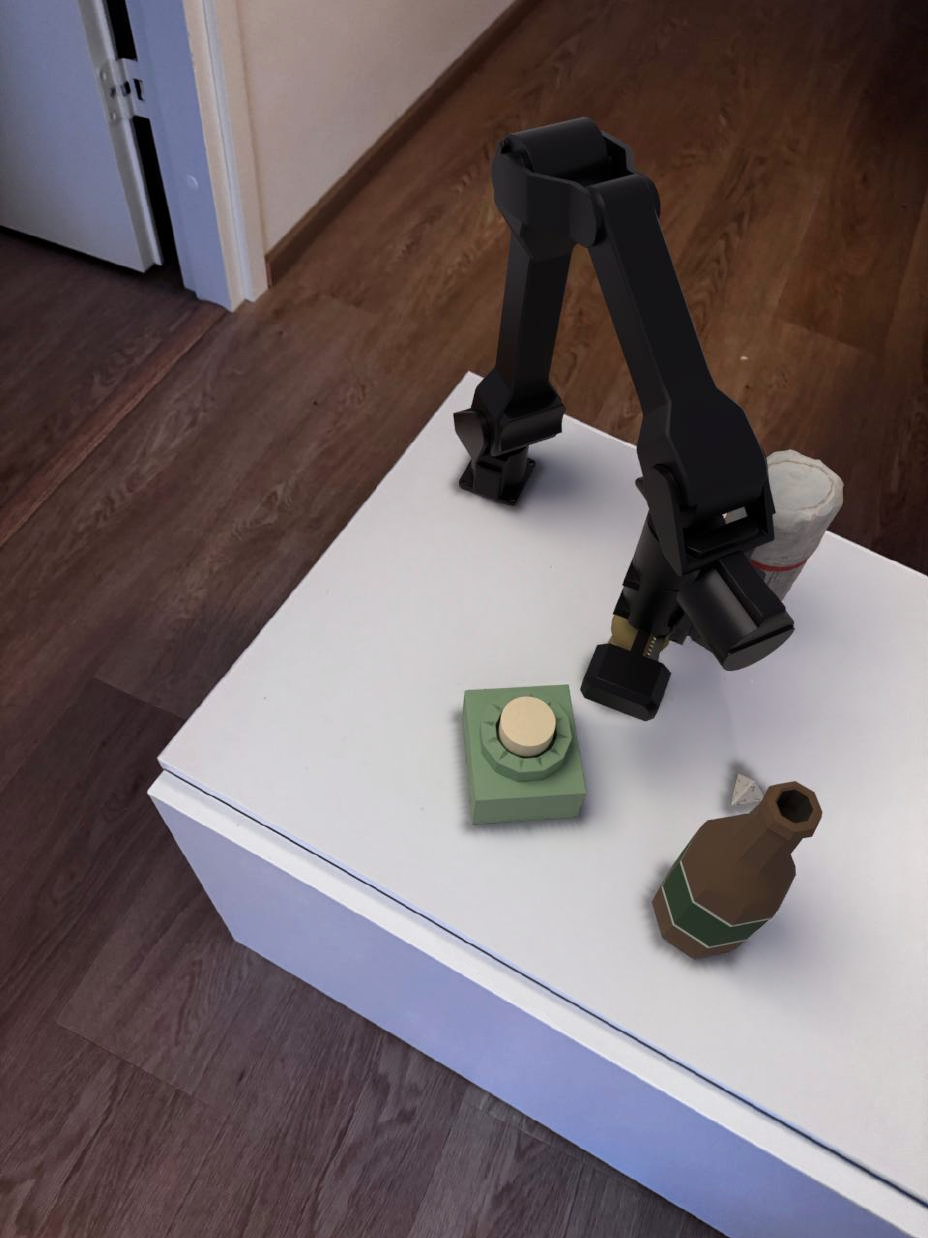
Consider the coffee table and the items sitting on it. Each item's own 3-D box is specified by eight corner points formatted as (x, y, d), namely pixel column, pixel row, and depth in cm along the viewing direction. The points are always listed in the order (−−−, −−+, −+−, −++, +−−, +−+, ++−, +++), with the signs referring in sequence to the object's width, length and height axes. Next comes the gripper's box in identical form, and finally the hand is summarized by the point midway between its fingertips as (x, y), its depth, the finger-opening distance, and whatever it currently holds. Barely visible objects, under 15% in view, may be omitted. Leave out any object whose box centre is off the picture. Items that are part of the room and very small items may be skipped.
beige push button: (496, 709, 80) (497, 697, 78) (548, 706, 80) (551, 694, 79) (501, 758, 78) (504, 747, 76) (556, 755, 78) (559, 744, 76)
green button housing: (461, 718, 87) (465, 678, 81) (560, 712, 88) (572, 672, 82) (471, 825, 82) (476, 791, 76) (576, 817, 83) (590, 783, 76)
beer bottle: (742, 972, 77) (861, 881, 56) (644, 951, 77) (727, 853, 57) (746, 877, 81) (859, 760, 60) (654, 857, 81) (734, 734, 61)
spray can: (778, 648, 93) (860, 519, 76) (693, 644, 92) (755, 514, 76) (765, 575, 97) (840, 438, 80) (684, 571, 97) (741, 433, 80)
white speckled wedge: (753, 778, 87) (759, 755, 85) (766, 802, 85) (773, 779, 83) (717, 784, 86) (722, 760, 84) (729, 808, 84) (735, 784, 82)
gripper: (745, 699, 67) (690, 785, 81) (802, 507, 77) (745, 613, 90) (594, 641, 69) (565, 735, 83) (668, 461, 79) (631, 571, 92)
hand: (632, 661), depth 87 cm, fingers open, 9 cm apart
